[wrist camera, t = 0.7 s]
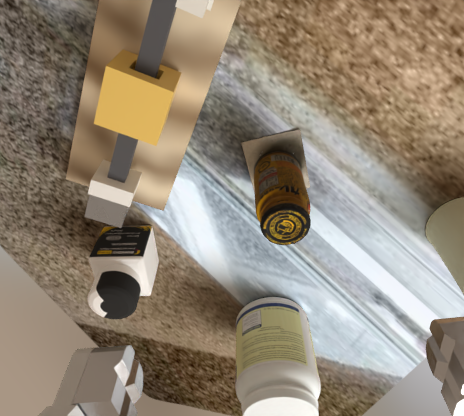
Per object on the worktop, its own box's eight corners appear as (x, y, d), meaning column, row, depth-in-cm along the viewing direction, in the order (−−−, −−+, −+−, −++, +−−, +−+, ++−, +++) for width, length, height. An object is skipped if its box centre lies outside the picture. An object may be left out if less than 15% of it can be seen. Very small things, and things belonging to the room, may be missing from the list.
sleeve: (122, 49, 41) (106, 65, 35) (181, 72, 42) (173, 92, 37) (110, 101, 44) (93, 123, 39) (165, 121, 45) (156, 146, 40)
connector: (104, 168, 49) (89, 194, 44) (138, 180, 50) (127, 206, 45) (99, 189, 51) (84, 216, 46) (132, 200, 52) (121, 228, 47)
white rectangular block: (103, 159, 47) (91, 179, 43) (142, 172, 48) (133, 193, 44) (100, 172, 48) (87, 193, 44) (138, 185, 49) (129, 207, 45)
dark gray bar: (167, -48, 34) (164, -47, 32) (189, -37, 34) (187, -36, 33) (106, 188, 48) (102, 197, 46) (122, 193, 48) (118, 202, 47)
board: (117, -82, 36) (114, -82, 35) (248, -20, 38) (248, -19, 37) (69, 174, 51) (65, 178, 50) (164, 205, 54) (163, 210, 53)
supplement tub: (221, 315, 67) (216, 415, 53) (277, 282, 62) (288, 381, 48) (266, 349, 72) (273, 448, 58) (321, 320, 67) (343, 420, 53)
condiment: (256, 197, 53) (260, 257, 43) (241, 142, 48) (242, 194, 39) (310, 186, 52) (326, 244, 42) (299, 128, 47) (316, 178, 37)
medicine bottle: (152, 224, 56) (134, 286, 46) (159, 261, 60) (144, 325, 50) (103, 225, 56) (74, 287, 46) (113, 262, 60) (88, 326, 50)
